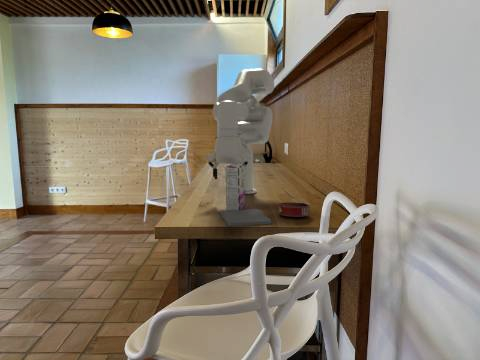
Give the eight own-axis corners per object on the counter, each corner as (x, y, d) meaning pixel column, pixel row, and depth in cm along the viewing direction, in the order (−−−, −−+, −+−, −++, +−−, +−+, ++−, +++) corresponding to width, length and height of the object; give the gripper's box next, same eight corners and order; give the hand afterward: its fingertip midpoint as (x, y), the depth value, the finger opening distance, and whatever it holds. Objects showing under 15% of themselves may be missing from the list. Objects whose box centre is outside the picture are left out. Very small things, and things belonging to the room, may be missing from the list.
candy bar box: (232, 206, 124) (232, 163, 122) (245, 207, 123) (245, 163, 121) (225, 213, 113) (225, 166, 111) (239, 214, 112) (239, 166, 110)
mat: (220, 213, 112) (220, 210, 112) (257, 211, 114) (257, 208, 114) (228, 226, 96) (228, 222, 96) (271, 223, 99) (271, 220, 99)
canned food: (286, 224, 114) (290, 197, 117) (313, 225, 108) (317, 196, 111) (269, 213, 106) (274, 184, 109) (297, 213, 100) (302, 182, 103)
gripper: (247, 134, 132) (247, 177, 134) (204, 134, 128) (204, 177, 130) (252, 134, 124) (252, 179, 127) (206, 133, 121) (206, 180, 123)
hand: (228, 178), depth 128 cm, fingers open, 9 cm apart
